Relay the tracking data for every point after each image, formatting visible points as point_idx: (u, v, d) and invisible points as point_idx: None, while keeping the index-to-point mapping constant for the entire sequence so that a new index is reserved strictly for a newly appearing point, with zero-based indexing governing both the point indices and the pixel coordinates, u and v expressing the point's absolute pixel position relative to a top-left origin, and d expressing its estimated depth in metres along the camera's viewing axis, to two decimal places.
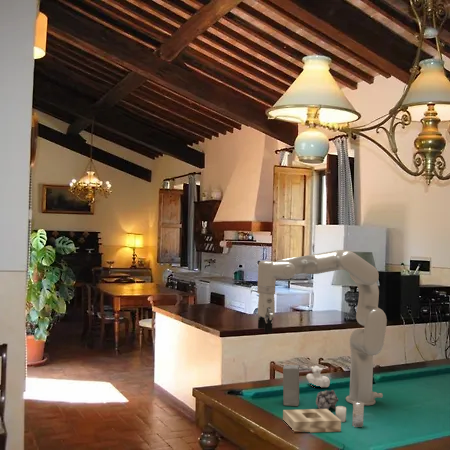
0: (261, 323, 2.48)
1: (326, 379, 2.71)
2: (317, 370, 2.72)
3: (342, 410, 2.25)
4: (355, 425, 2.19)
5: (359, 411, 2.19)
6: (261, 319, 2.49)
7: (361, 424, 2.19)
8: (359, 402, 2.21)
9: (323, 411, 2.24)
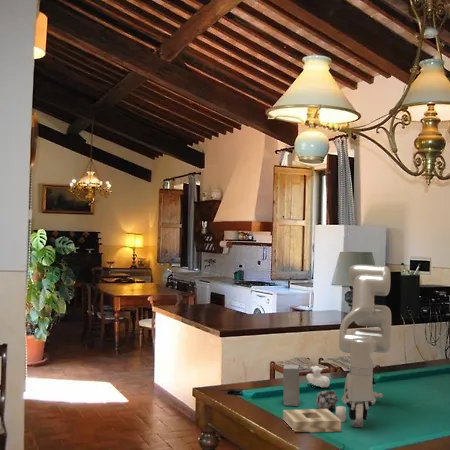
0: None
1: (326, 379, 2.71)
2: (317, 370, 2.72)
3: (342, 410, 2.25)
4: (355, 425, 2.19)
5: (359, 411, 2.19)
6: None
7: (361, 424, 2.19)
8: (359, 402, 2.21)
9: (323, 411, 2.24)
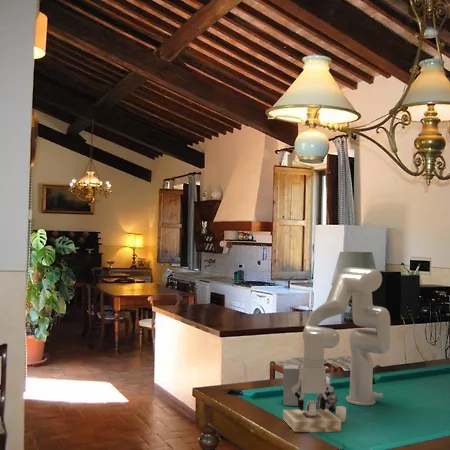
0: None
1: (326, 379, 2.71)
2: None
3: (342, 410, 2.25)
4: None
5: (312, 411, 2.17)
6: None
7: None
8: (312, 402, 2.19)
9: (323, 411, 2.24)
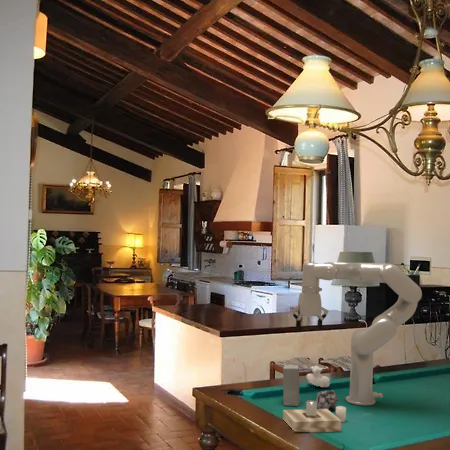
0: None
1: (326, 379, 2.71)
2: (317, 370, 2.72)
3: (342, 410, 2.25)
4: None
5: (312, 411, 2.17)
6: None
7: None
8: (312, 401, 2.19)
9: (323, 411, 2.24)
